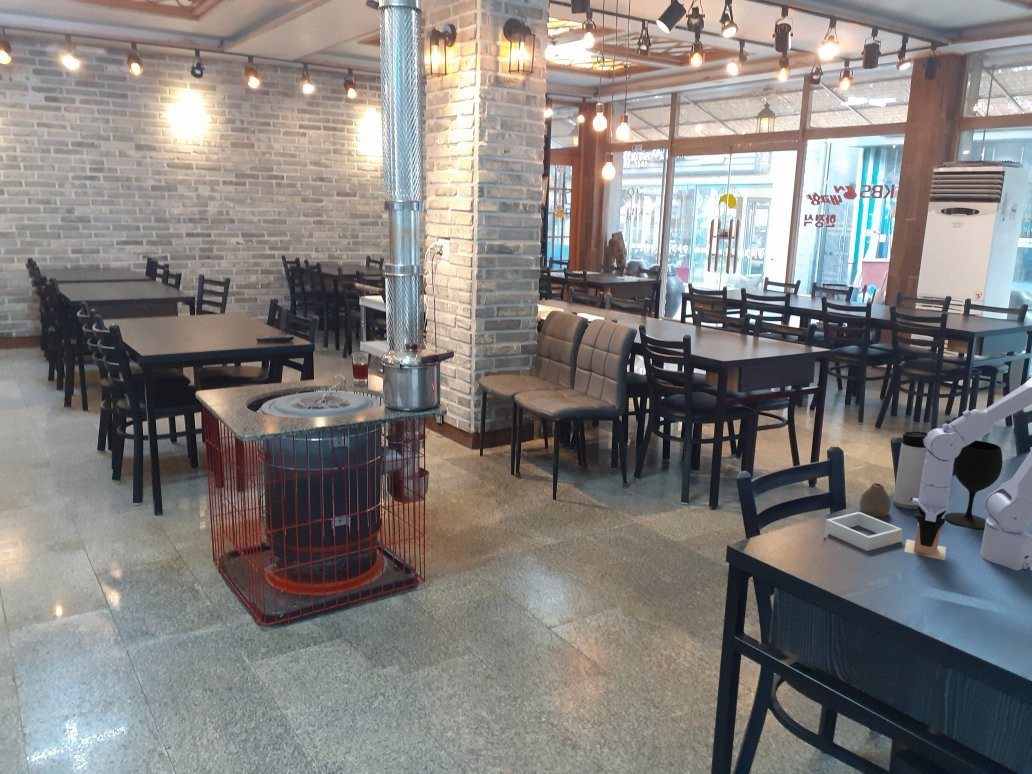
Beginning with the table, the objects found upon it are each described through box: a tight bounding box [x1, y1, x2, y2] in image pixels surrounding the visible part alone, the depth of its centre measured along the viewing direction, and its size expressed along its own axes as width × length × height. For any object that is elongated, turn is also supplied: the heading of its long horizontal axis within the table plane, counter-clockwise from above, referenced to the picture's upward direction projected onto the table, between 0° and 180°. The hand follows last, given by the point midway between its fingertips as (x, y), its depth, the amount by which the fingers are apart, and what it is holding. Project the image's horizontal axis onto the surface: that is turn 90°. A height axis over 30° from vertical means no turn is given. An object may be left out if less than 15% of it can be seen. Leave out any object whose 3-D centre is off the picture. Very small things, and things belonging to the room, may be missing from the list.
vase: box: [859, 482, 891, 518], centre depth 198 cm, size 7×7×9 cm
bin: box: [823, 511, 903, 552], centre depth 183 cm, size 12×12×4 cm
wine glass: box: [943, 440, 1003, 531], centre depth 196 cm, size 10×10×20 cm
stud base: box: [904, 539, 947, 561], centre depth 177 cm, size 8×8×5 cm
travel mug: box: [892, 431, 929, 510], centre depth 206 cm, size 6×7×20 cm
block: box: [914, 522, 942, 555], centre depth 177 cm, size 4×4×6 cm
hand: (926, 541), depth 177 cm, fingers closed on block, 4 cm apart
